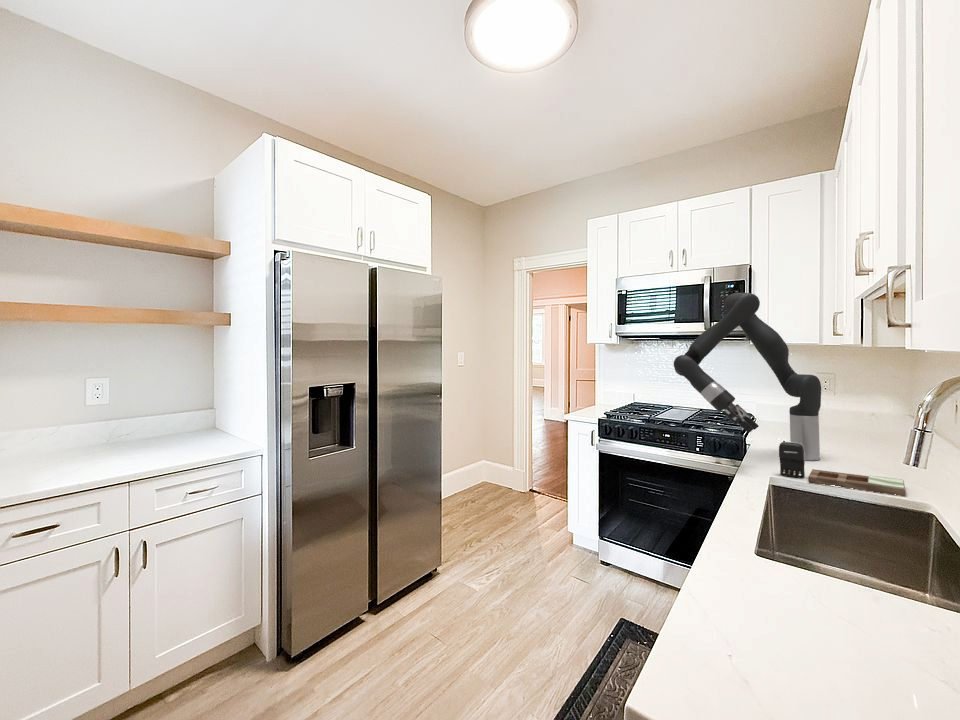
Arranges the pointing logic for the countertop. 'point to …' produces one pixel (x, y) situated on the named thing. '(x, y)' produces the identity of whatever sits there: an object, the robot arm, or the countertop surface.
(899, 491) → the board
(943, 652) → the countertop surface
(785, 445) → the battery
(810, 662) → the countertop surface
